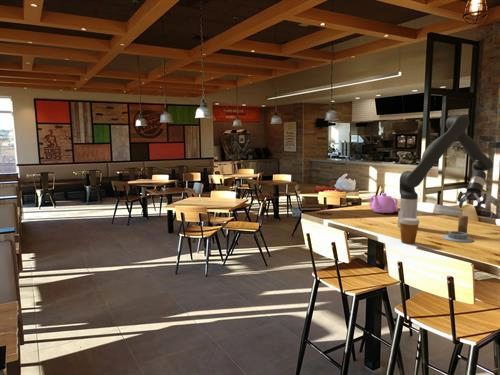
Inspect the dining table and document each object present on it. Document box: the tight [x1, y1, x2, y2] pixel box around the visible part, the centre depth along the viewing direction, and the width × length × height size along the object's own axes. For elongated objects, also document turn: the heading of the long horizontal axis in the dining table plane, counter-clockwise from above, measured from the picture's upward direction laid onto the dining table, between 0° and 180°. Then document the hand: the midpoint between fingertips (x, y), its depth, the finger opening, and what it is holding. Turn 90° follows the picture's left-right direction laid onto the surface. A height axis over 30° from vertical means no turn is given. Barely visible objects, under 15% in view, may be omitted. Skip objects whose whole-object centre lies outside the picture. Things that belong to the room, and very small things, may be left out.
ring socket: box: [441, 230, 474, 244], centre depth 201 cm, size 14×14×3 cm
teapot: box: [369, 192, 399, 214], centre depth 278 cm, size 22×22×14 cm
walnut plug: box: [457, 215, 469, 234], centre depth 212 cm, size 4×4×10 cm
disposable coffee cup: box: [399, 217, 420, 245], centre depth 193 cm, size 10×10×12 cm
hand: (468, 207), depth 218 cm, fingers open, 8 cm apart
